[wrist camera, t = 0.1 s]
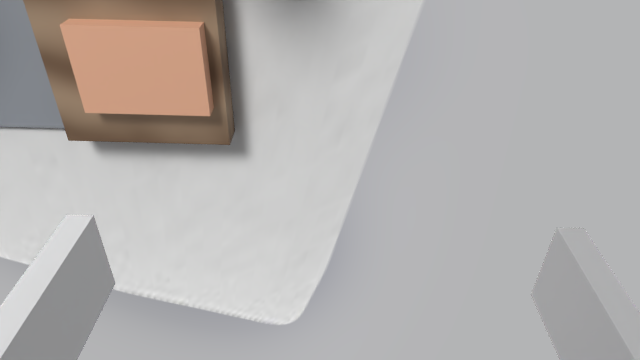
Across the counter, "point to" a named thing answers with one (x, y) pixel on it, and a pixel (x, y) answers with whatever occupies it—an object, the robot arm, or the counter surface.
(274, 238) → the counter surface
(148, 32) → the card
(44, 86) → the mat
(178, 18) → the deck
